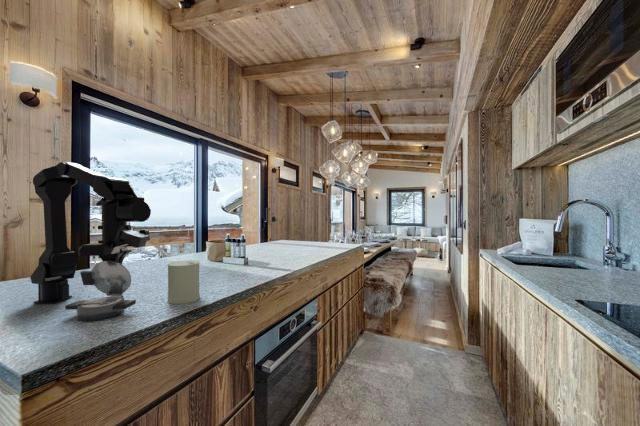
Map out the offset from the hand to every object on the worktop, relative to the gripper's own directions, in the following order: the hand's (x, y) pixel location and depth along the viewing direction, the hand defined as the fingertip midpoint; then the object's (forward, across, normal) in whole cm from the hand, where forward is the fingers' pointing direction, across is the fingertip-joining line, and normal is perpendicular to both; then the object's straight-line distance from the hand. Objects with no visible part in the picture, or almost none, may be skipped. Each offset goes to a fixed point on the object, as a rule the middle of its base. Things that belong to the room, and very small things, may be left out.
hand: (115, 276), depth 81 cm
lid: (0, -2, +1) cm, 2 cm away
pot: (+9, -5, 0) cm, 11 cm away
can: (+10, +8, -16) cm, 20 cm away
